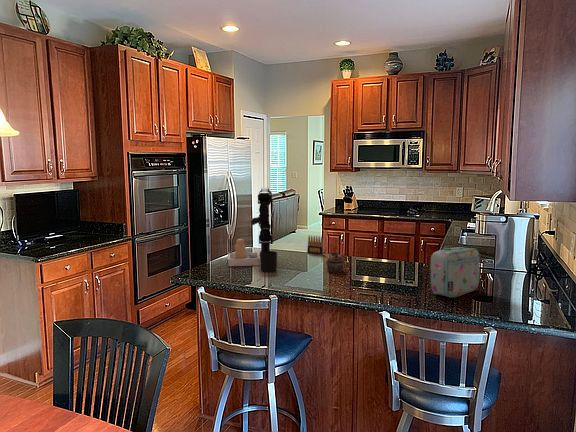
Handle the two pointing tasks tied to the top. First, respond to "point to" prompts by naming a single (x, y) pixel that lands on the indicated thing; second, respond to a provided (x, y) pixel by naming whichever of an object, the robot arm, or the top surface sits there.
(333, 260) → the cupcake
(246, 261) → the tray
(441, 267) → the lunch box
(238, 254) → the post
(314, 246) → the ammunition clip
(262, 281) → the top surface
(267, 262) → the pen holder
